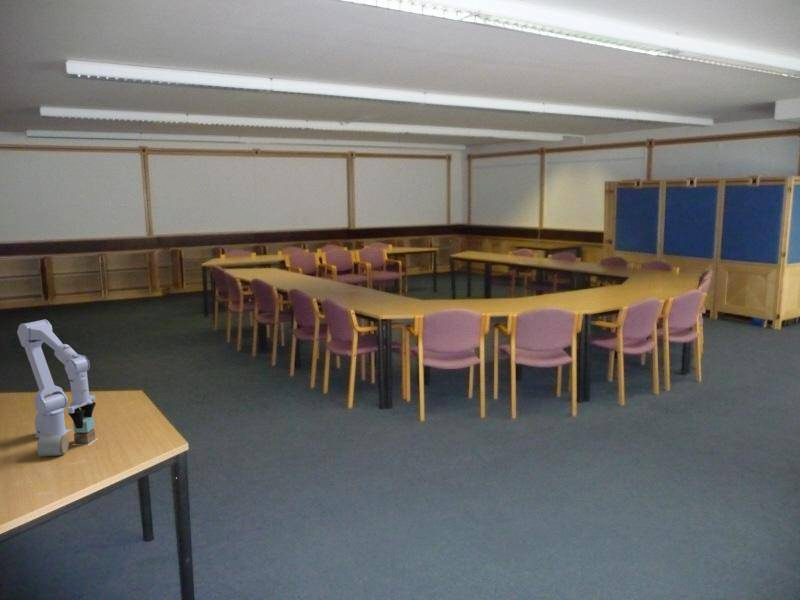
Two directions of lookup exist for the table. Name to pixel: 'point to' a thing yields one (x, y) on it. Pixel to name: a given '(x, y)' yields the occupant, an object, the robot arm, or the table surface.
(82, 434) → the walnut block
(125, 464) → the table surface
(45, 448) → the ceramic mug
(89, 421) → the teal block
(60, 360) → the robot arm
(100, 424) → the table surface
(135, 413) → the table surface
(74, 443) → the mat
